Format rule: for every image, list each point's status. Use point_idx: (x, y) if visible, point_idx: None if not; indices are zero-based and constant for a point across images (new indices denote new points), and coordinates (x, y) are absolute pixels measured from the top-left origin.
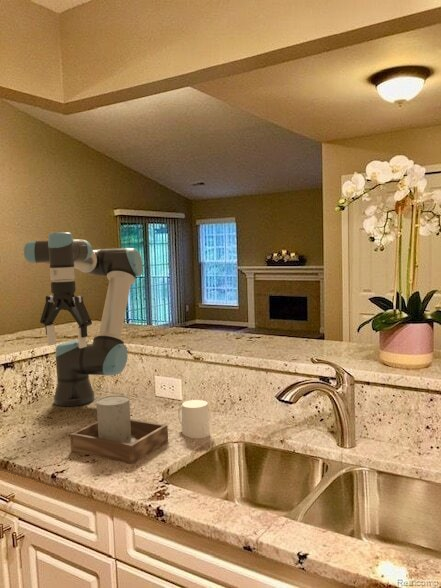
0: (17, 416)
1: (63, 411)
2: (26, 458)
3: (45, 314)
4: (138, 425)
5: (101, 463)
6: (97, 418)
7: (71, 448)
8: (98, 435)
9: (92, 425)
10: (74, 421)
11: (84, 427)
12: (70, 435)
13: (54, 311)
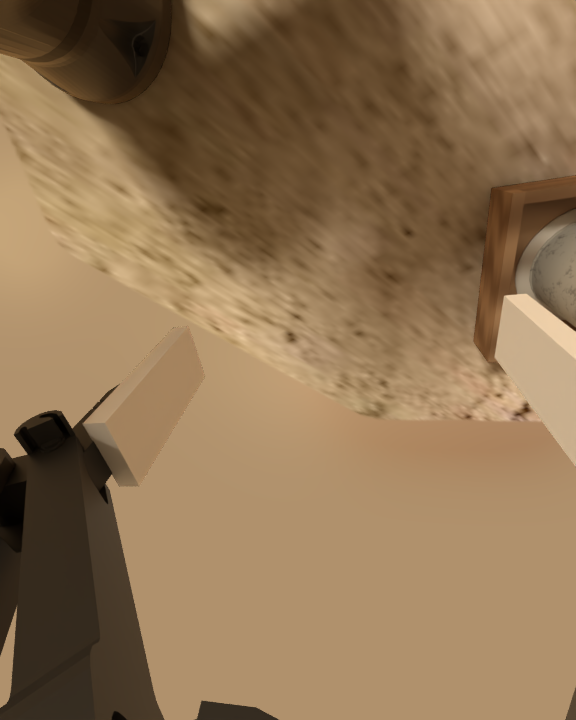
0: (127, 255)
1: (187, 137)
2: (404, 402)
3: (11, 606)
4: None
5: None
6: (574, 324)
7: (476, 343)
8: (549, 306)
9: (509, 290)
10: (310, 189)
11: (495, 314)
12: (487, 360)
13: (150, 688)
